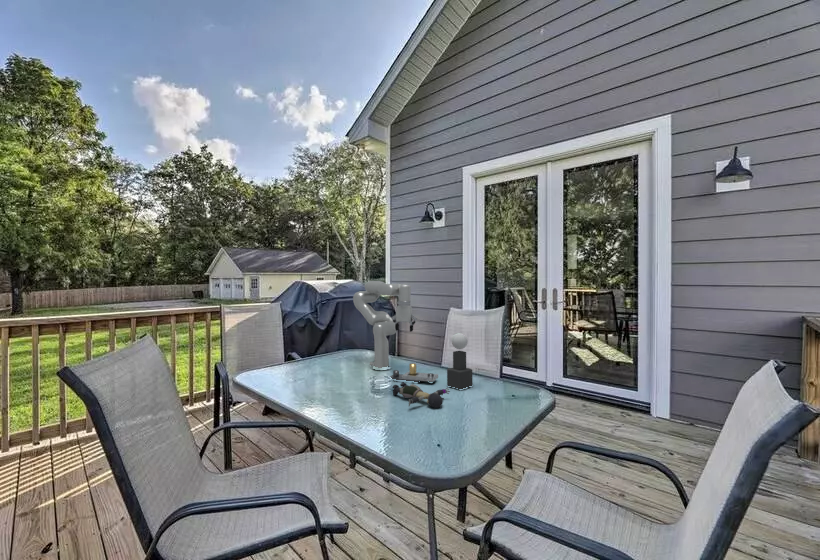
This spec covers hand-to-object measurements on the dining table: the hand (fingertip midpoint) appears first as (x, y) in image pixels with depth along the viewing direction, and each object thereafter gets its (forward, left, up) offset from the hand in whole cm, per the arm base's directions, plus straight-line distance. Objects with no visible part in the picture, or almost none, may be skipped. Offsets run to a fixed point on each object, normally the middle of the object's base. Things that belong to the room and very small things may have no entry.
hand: (404, 330), depth 234 cm
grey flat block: (+11, -13, -28) cm, 32 cm away
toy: (+27, -46, -28) cm, 60 cm away
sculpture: (+40, -16, -28) cm, 51 cm away
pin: (+11, -13, -28) cm, 32 cm away
